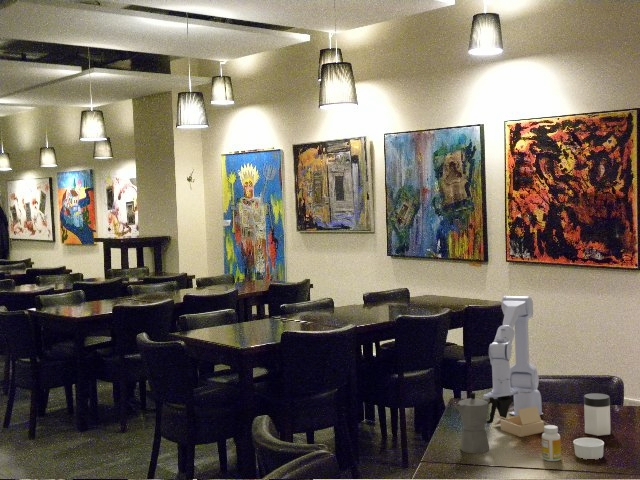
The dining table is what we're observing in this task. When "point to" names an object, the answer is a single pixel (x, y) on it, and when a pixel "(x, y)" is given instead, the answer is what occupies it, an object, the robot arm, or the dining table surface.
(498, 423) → the flap
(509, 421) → the flap
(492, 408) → the coffeepot
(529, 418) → the flap
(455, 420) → the dining table surface
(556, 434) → the supplement bottle
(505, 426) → the carton
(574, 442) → the ramekin
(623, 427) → the dining table surface
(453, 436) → the dining table surface
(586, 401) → the jar
